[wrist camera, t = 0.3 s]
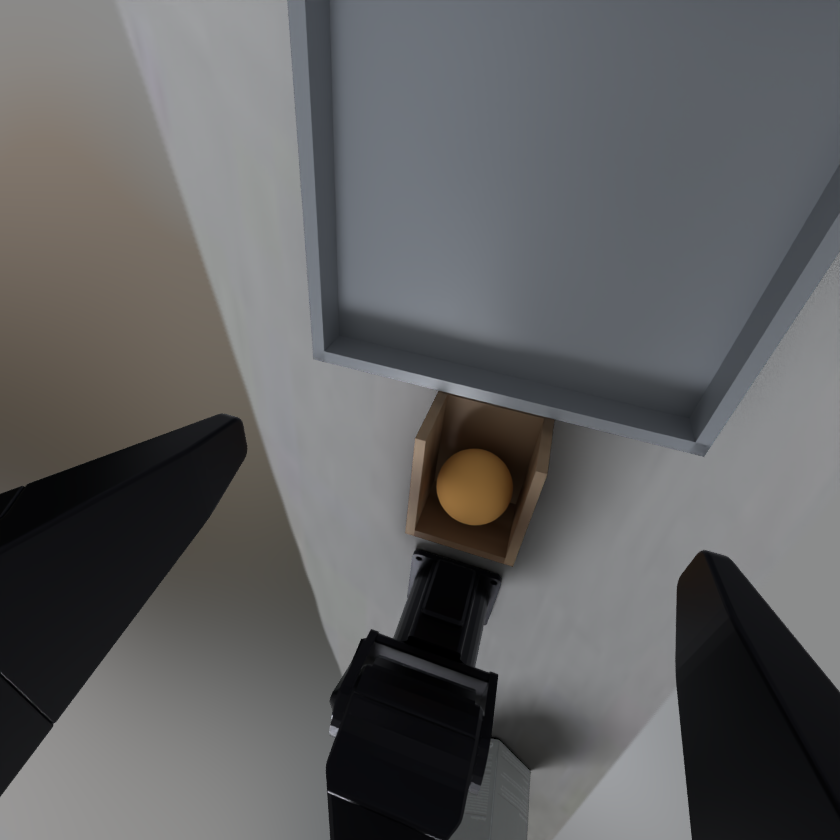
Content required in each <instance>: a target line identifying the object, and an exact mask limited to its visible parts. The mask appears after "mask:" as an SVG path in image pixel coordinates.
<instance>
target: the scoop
mask: <svg viewBox="0 0 840 840" xmlns="http://www.w3.org/2000/svg"><path fill="white" fill-rule="evenodd" d="M553 427H554V419H551V418H547V417H543V416H539V415H535V414H531V413H527V412H523V411H519V410H515V409H511V408H507V407H503V406H499V405H495V404H491V403H487V402H483V401H479V400H475V399H471V398H467V397H463V396H459V395H455V394H451V393H447V392H443V391H438V393H437V395H436V397H435V399H434V401H433V403H432V405H431V407H430V410H429V412H428V414H427V416H426V418H425V420H424V422H423V424H422V426H421V428H420V430H419V432H418V434H417V436H416V438H415V445H414V455H413V464H412V474H411V483H410V493H409V502H408V512H407V522H406V531H405V533H406V534H409V535H413V536H416V537H419V538H422V539H425V540H429V541H432V542H435V543H438V544H441V545H445V546H448V547H451V548H454V549H457V550H461V551H464V552H467V553H470V554H473V555H477V556H480V557H483V558H486V559H490V560H493V561H496V562H499V563H502V564H506V565H509V566H512V567H513V565H514V562H515V560H516V557H517V554H518V552H519V549H520V546H521V544H522V541H523V538H524V536H525V533H526V530H527V528H528V525H529V522H530V520H531V517H532V514H533V512H534V509H535V506H536V504H537V501H538V498H539V496H540V493H541V490H542V488H543V485H544V482H545V480H546V477H547V474H548V466H549V458H550V450H551V443H552V435H553ZM466 449H482V450H486V451H489V452H491V453H493V454H495V455H496V456H498V457H499V458H500V459H501V460H502V461H503V462H504V463H505V465H506V466H507V468H508V470H509V472H510V474H511V477H512V482H513V494H512V498H511V501H510V503H509V505H508V507H507V509H506V510H505V511H504V513H503V514H502V515H501V516H499V517H498V518H497V519H495V520H494V521H492V522H490V523H487V524H483V525H468V524H464V523H461V522H459V521H457V520H455V519H454V518H452V517H451V516H450V515H449V514H448V513H447V512H446V511H445V510H444V509H443V507H442V505H441V503H440V501H439V498H438V495H437V487H436V486H437V478H438V474H439V472H440V469H441V467H442V466H443V464H444V463H445V462H446V461H447V460H448V459H449V458H450V457H451V456H452V455H454V454H456V453H457V452H459V451H462V450H466Z"/></svg>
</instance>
